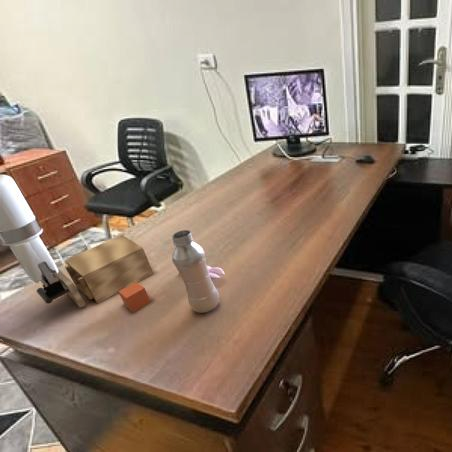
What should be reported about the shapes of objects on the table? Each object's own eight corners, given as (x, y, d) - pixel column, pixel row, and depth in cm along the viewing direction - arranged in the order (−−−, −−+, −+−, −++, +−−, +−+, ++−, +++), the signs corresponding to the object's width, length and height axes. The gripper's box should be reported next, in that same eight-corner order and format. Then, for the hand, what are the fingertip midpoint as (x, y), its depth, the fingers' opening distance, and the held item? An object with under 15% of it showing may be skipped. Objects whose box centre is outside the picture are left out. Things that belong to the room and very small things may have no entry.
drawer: (57, 320, 82) (43, 297, 78) (42, 301, 88) (29, 280, 85) (135, 278, 94) (126, 257, 90) (117, 265, 100) (108, 245, 97)
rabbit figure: (177, 283, 94) (215, 289, 86) (167, 264, 91) (206, 269, 84) (194, 270, 99) (232, 274, 91) (186, 252, 96) (224, 255, 88)
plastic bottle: (223, 309, 81) (200, 236, 71) (193, 320, 79) (165, 246, 69) (218, 294, 86) (196, 223, 76) (190, 304, 84) (163, 232, 74)
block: (133, 312, 83) (126, 298, 81) (124, 305, 86) (118, 291, 83) (150, 301, 86) (144, 287, 84) (142, 295, 88) (136, 281, 86)
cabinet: (97, 303, 87) (82, 276, 83) (79, 286, 94) (64, 260, 90) (153, 273, 97) (142, 247, 93) (133, 259, 104) (122, 234, 100)
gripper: (-10, 230, 78) (32, 293, 87) (6, 249, 70) (51, 316, 79) (29, 216, 83) (65, 277, 92) (49, 232, 75) (86, 297, 84)
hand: (58, 295), depth 86 cm, fingers closed
